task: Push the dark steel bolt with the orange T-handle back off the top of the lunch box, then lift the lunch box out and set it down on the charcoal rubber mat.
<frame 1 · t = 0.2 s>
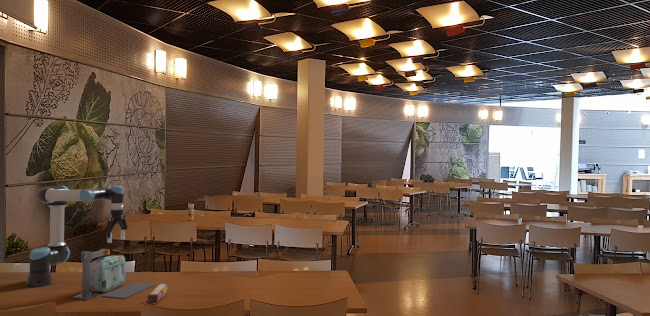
hand: (116, 241, 318), 29 cm above the table, tool pointing down, fingers open, 13 cm apart
mat: (129, 290, 306), on the table
latch post: (85, 297, 290), on the table
snack package: (158, 299, 290), on the table
bolt: (95, 254, 298), point 25 cm above the table, slide at 0.0 cm
lunch box: (108, 289, 310), on the table
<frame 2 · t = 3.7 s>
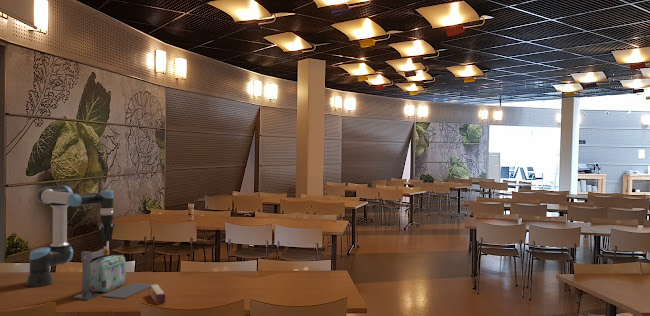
hand: (106, 251, 307), 25 cm above the table, tool pointing down, fingers closed
bolt: (95, 254, 298), point 25 cm above the table, slide at 0.4 cm, touching gripper
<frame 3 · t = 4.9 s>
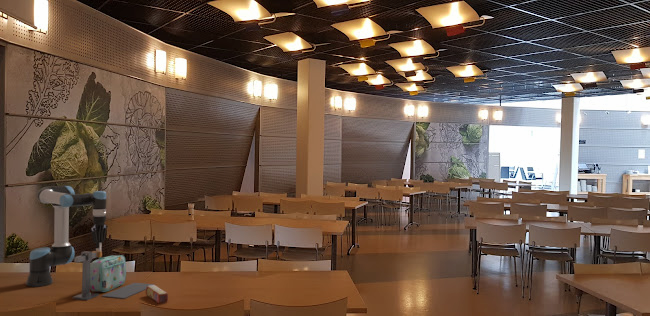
hand: (98, 253, 301), 25 cm above the table, tool pointing down, fingers closed
bolt: (87, 256, 291), point 25 cm above the table, slide at 7.2 cm, touching gripper
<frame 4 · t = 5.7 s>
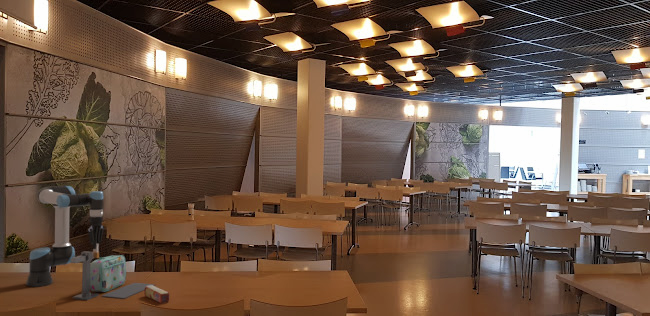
hand: (95, 253, 298), 25 cm above the table, tool pointing down, fingers closed
bolt: (84, 257, 289), point 25 cm above the table, slide at 9.9 cm, touching gripper
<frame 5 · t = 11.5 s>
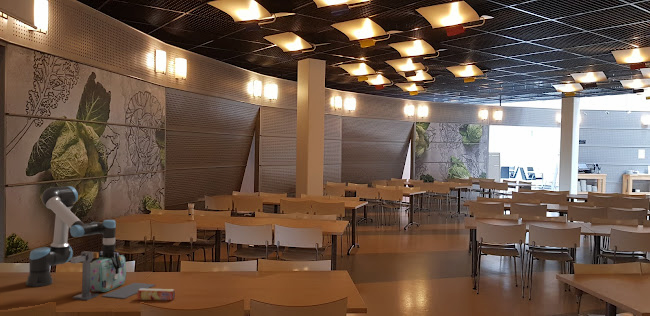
hand: (108, 278, 310), 7 cm above the table, tool pointing down, fingers closed on lunch box, 10 cm apart
bolt: (83, 257, 288), point 25 cm above the table, slide at 10.2 cm
lunch box: (108, 289, 310), on the table, touching gripper
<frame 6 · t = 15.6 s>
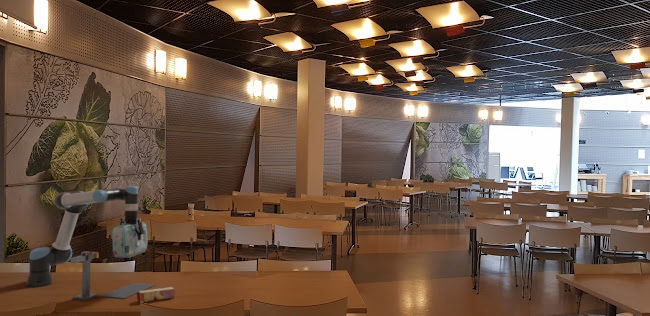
hand: (130, 244, 306), 29 cm above the table, tool pointing down, fingers closed on lunch box, 10 cm apart
lunch box: (130, 255, 306), point 22 cm above the table, touching gripper
when the fingers open (9 cm above the table, at t = 20.0 s): lunch box drops 1 cm, resting on mat.
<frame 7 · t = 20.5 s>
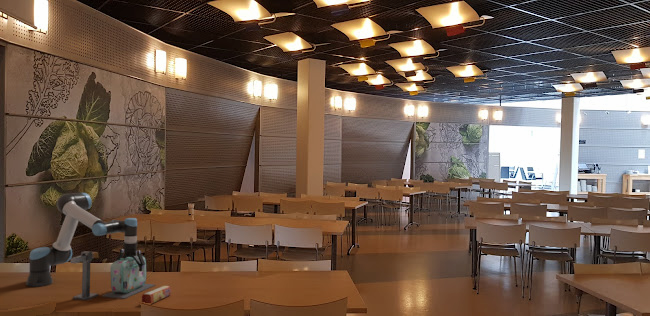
hand: (130, 275, 306), 10 cm above the table, tool pointing down, fingers open, 13 cm apart
lunch box: (128, 290, 306), resting on mat
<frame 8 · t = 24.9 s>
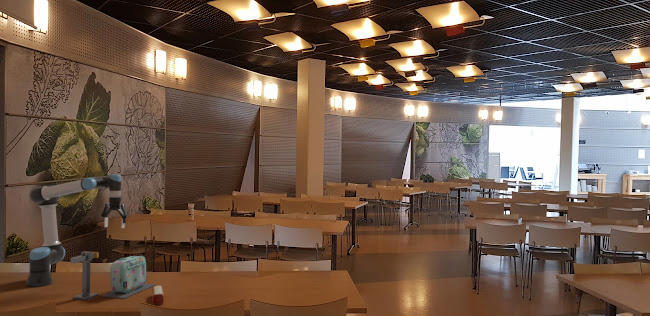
hand: (114, 227, 330), 37 cm above the table, tool pointing down, fingers open, 13 cm apart
at the end: bolt slide at 10.2 cm; lunch box inside the target area on the mat (0.6 cm from its centre), point 0.4 cm above the mat's base; lunch box tilted 0° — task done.
